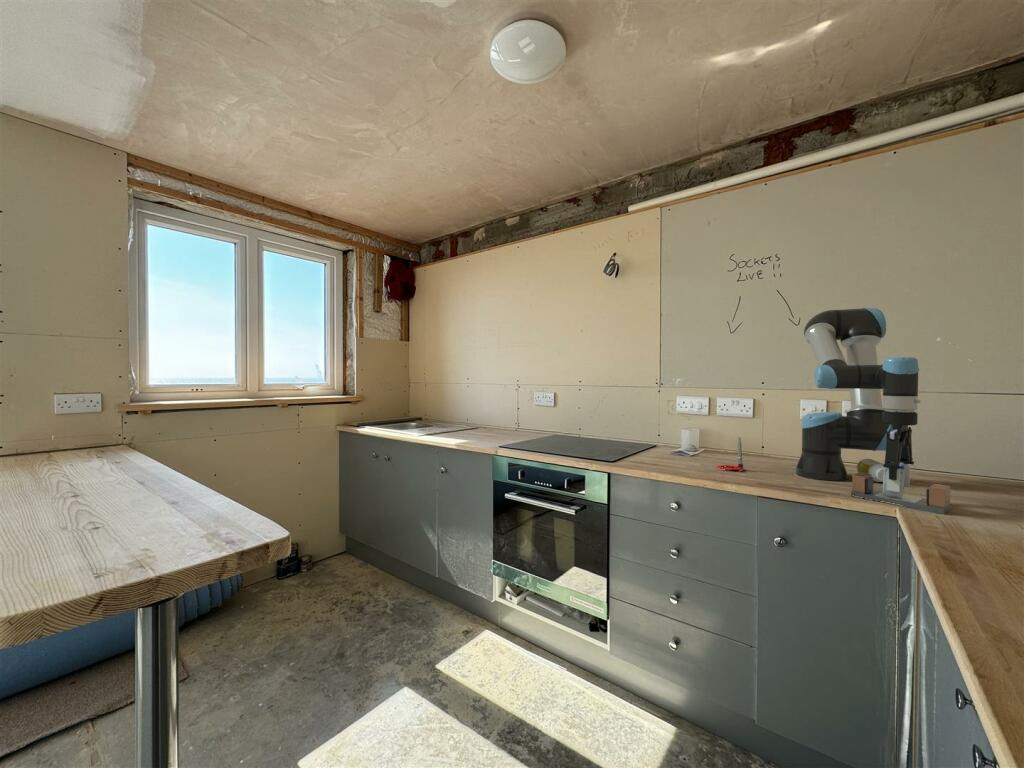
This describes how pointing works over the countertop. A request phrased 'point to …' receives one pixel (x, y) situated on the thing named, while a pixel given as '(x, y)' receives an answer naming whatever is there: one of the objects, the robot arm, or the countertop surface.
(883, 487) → the medicine box
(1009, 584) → the countertop surface
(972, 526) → the countertop surface
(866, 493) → the rail
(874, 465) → the supplement bottle
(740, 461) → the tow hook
